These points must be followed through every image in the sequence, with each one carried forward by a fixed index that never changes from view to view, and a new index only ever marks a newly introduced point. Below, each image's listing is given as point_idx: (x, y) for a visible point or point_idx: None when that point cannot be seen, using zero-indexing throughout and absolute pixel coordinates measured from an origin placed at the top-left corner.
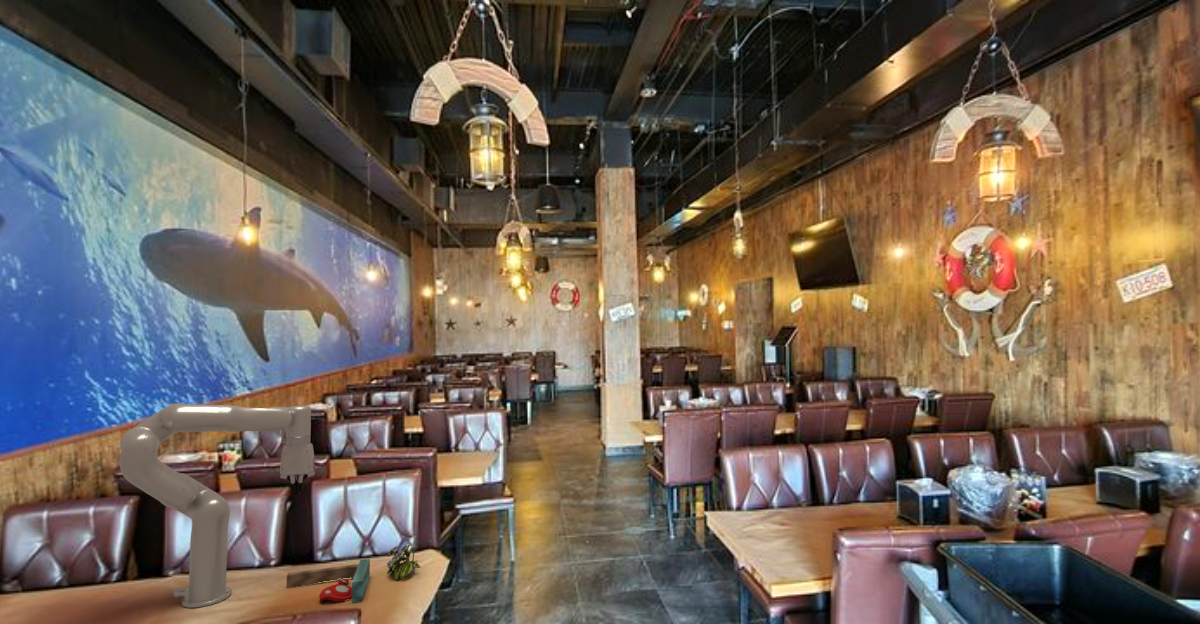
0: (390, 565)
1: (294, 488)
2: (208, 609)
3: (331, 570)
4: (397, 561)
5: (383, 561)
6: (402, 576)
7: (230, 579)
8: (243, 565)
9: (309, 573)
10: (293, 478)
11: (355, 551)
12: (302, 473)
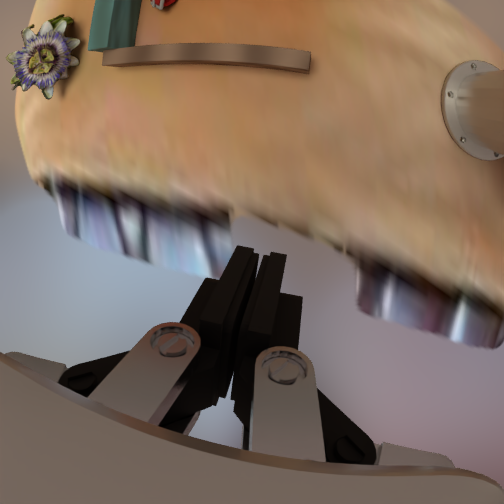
0: (62, 32)
1: (271, 290)
2: (468, 40)
3: (185, 43)
4: (45, 27)
5: (92, 145)
6: (59, 16)
7: (446, 216)
8: (414, 298)
9: (245, 45)
10: (267, 413)
11: (159, 252)
12: (32, 384)
